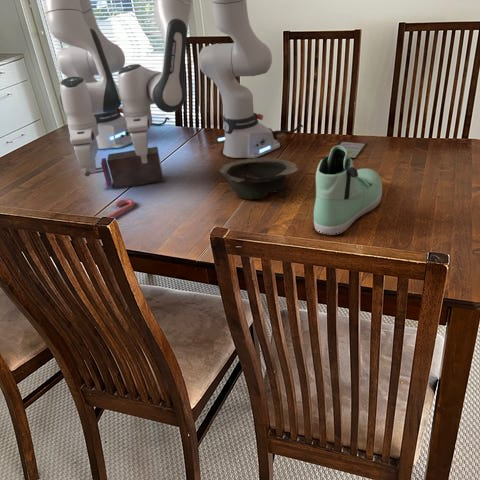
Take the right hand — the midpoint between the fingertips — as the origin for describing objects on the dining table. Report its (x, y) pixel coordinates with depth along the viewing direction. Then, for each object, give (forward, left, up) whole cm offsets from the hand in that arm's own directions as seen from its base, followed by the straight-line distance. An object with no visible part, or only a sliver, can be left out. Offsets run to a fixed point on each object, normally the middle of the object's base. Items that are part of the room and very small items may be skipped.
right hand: (145, 158), depth 161 cm
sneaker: (-37, +58, -8) cm, 70 cm away
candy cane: (+18, +16, -8) cm, 25 cm away
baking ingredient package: (-69, +25, -8) cm, 74 cm away
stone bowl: (-25, +30, -8) cm, 40 cm away
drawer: (+8, -4, -7) cm, 12 cm away
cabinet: (+3, -2, -8) cm, 9 cm away
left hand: (+16, -6, -2) cm, 18 cm away
